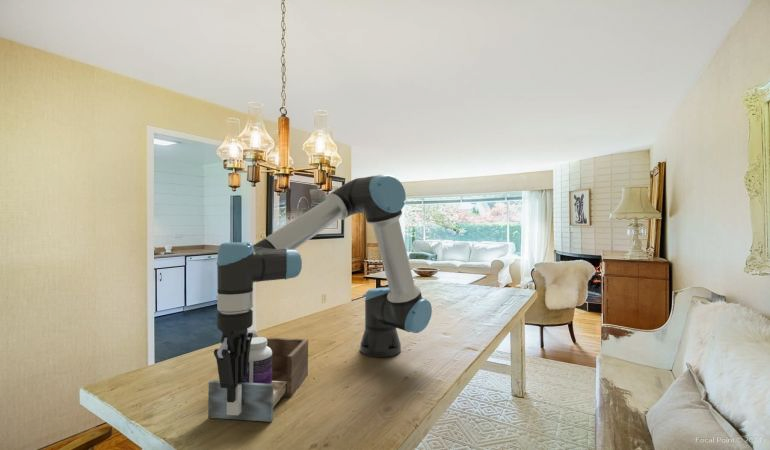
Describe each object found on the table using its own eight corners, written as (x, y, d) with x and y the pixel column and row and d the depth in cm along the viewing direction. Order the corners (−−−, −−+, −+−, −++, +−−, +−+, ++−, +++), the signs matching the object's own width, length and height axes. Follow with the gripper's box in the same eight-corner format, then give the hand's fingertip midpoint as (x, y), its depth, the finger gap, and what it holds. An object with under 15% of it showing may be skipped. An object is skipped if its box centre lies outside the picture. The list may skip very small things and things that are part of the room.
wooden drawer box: (307, 374, 107) (308, 339, 107) (291, 397, 93) (291, 356, 93) (258, 372, 109) (258, 337, 109) (234, 393, 95) (235, 353, 95)
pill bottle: (274, 387, 95) (275, 334, 95) (268, 402, 87) (268, 345, 87) (244, 388, 94) (244, 335, 94) (234, 404, 86) (235, 345, 86)
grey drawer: (292, 393, 95) (292, 362, 95) (269, 424, 80) (269, 388, 80) (237, 390, 96) (238, 360, 96) (205, 420, 81) (205, 384, 81)
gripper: (234, 303, 86) (233, 398, 86) (201, 317, 73) (200, 428, 73) (263, 304, 85) (262, 399, 85) (236, 318, 72) (234, 431, 72)
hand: (234, 413), depth 79 cm, fingers closed
